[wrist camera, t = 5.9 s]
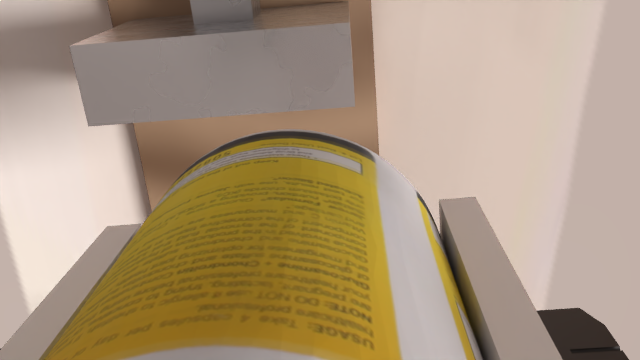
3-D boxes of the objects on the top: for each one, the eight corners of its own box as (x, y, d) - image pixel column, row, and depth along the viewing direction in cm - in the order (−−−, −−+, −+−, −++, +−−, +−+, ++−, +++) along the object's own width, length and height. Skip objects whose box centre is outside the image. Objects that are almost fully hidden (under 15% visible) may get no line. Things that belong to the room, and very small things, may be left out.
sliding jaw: (113, -79, 27) (38, -82, 20) (341, -101, 26) (340, -112, 19) (145, 83, 29) (88, 126, 23) (352, 67, 29) (355, 106, 22)
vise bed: (100, -72, 28) (11, -73, 20) (364, -97, 27) (371, -108, 19) (188, 358, 37) (149, 466, 29) (388, 349, 36) (400, 458, 28)
